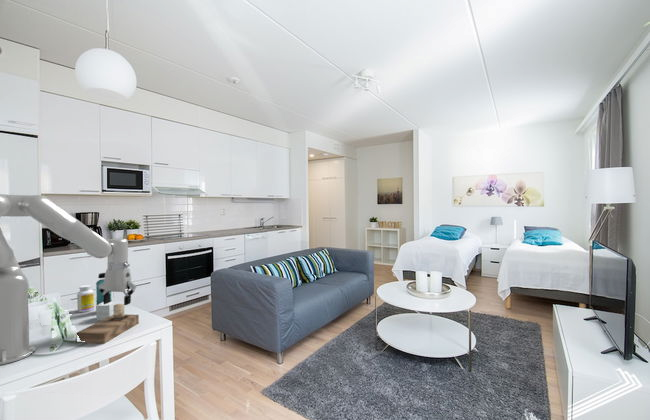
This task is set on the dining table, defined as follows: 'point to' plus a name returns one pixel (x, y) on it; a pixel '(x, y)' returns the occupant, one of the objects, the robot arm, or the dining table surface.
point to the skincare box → (105, 310)
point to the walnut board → (107, 329)
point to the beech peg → (118, 312)
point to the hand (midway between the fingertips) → (117, 303)
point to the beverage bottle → (99, 295)
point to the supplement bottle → (85, 299)
